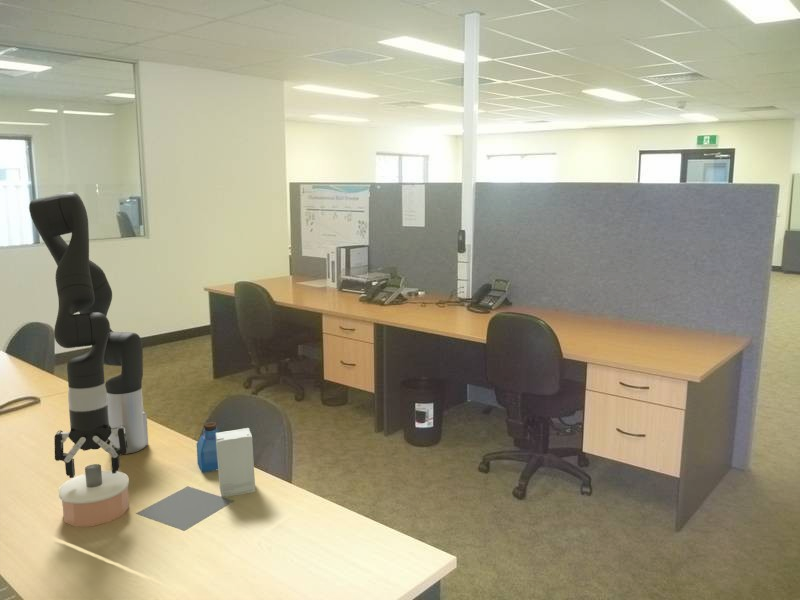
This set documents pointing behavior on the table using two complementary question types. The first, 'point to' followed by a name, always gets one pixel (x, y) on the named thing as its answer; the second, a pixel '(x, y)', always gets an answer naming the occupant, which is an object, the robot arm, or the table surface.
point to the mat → (185, 508)
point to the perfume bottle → (207, 448)
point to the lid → (93, 486)
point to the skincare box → (235, 462)
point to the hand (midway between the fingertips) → (93, 474)
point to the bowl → (96, 510)
